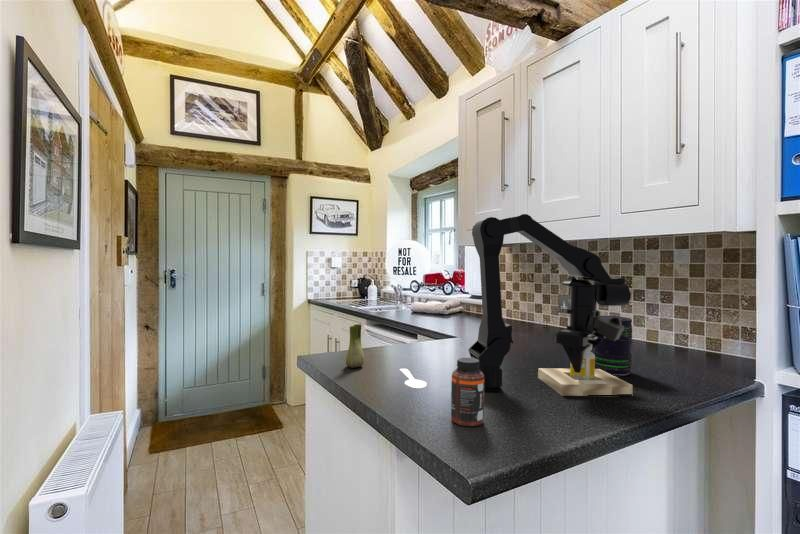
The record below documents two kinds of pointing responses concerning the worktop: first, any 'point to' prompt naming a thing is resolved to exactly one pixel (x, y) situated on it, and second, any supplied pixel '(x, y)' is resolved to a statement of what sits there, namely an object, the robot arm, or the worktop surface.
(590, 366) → the supplement bottle
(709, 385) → the worktop surface
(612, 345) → the storage jar
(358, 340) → the fennel bulb
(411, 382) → the spoon
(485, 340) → the robot arm
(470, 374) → the supplement bottle
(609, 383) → the wooden frame
